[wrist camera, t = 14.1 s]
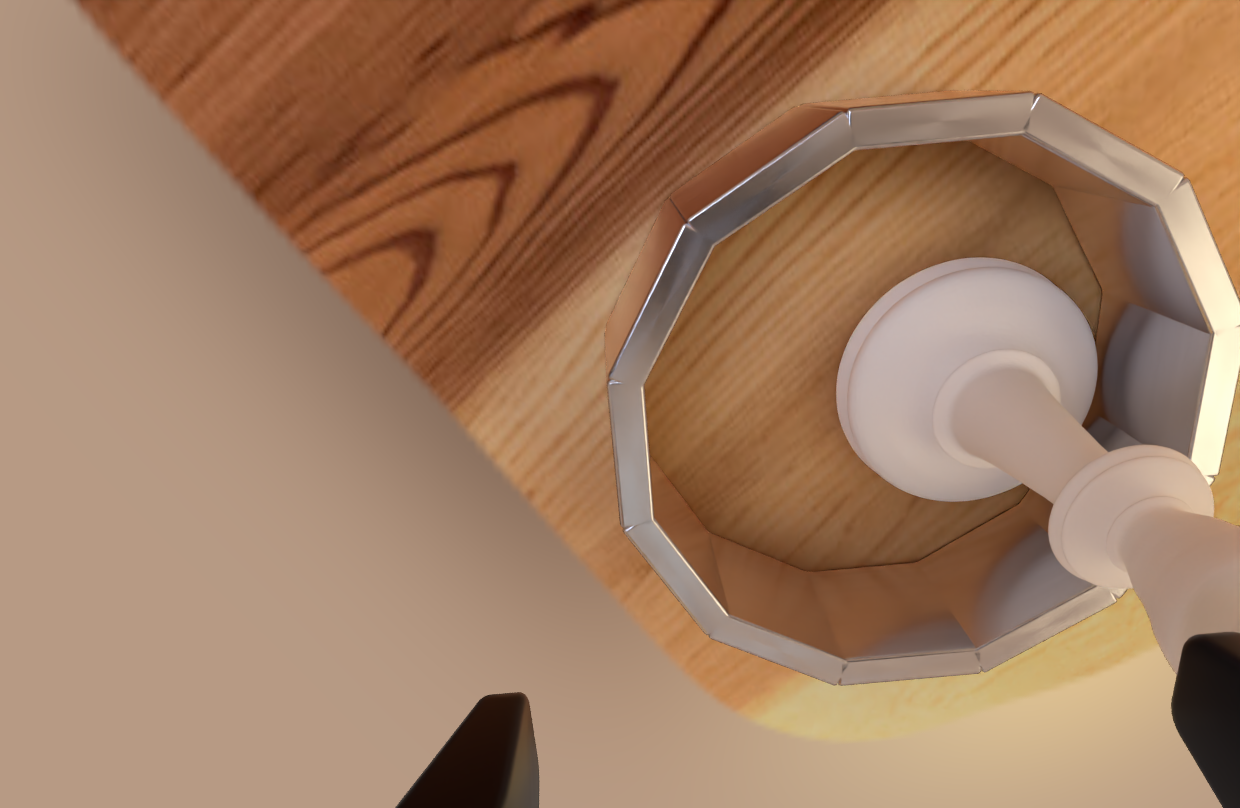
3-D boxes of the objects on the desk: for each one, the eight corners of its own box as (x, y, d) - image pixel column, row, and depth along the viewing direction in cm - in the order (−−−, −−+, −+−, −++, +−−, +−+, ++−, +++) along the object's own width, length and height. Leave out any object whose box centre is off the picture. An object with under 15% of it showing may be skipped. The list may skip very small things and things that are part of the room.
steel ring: (630, 609, 18) (637, 705, 15) (584, 123, 14) (581, 131, 12) (1091, 568, 18) (1182, 656, 15) (1164, 70, 14) (1303, 65, 11)
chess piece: (930, 532, 18) (1314, 1039, 8) (784, 378, 16) (1045, 777, 7) (1129, 381, 16) (1836, 769, 7) (990, 201, 15) (1637, 388, 6)
